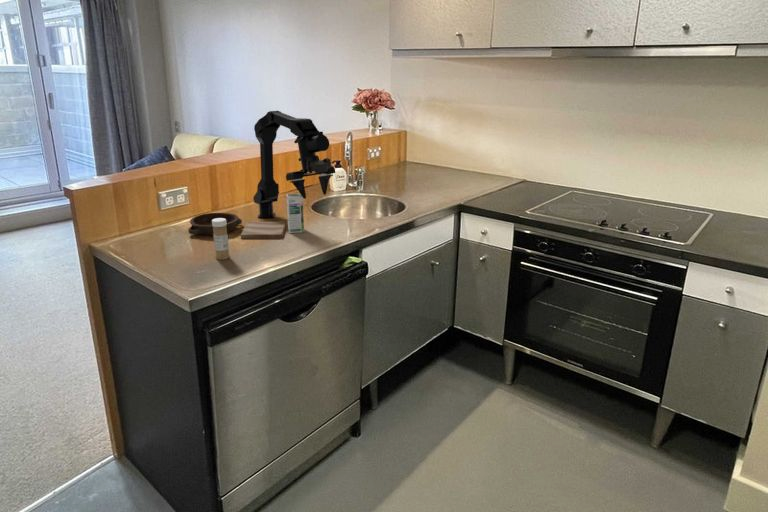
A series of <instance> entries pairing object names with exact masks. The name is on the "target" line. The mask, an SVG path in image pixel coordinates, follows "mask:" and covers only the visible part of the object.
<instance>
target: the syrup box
mask: <svg viewBox="0 0 768 512" xmlns="http://www.w3.org/2000/svg"><path fill="white" fill-rule="evenodd" d="M285 197H286V212H287V213H286V215H287V216H286V217H287V229H288V232H289V234H298V233H305V223H304V222H305V221H304V198H303V197H302V195H301V194H300V192H298V193H286V196H285Z"/></svg>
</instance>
